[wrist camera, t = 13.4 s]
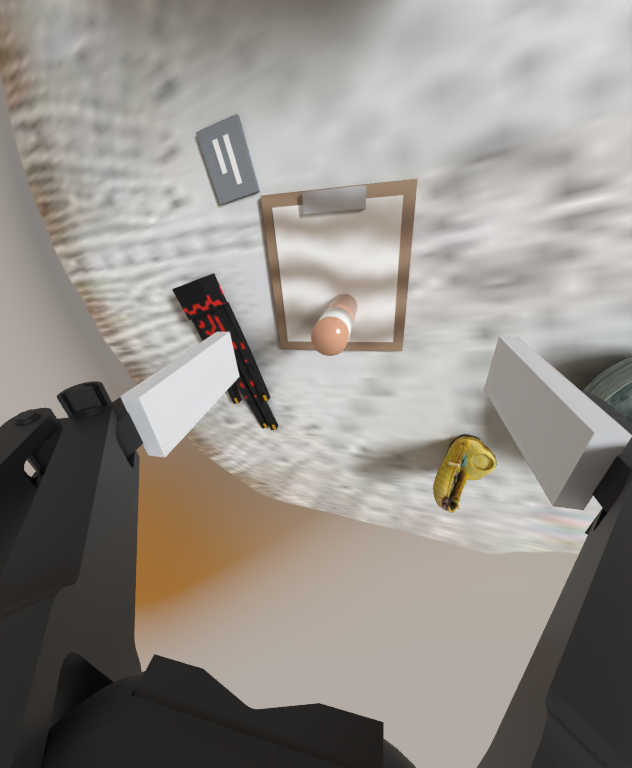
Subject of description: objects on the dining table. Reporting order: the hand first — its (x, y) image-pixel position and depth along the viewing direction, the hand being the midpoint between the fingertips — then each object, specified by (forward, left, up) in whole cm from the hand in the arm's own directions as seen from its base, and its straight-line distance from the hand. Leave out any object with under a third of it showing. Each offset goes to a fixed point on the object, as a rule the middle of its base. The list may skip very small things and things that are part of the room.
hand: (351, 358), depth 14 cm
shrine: (+30, +16, -30) cm, 46 cm away
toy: (+14, -24, -31) cm, 41 cm away
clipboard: (0, -5, -30) cm, 31 cm away
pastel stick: (+4, -4, -29) cm, 30 cm away
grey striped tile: (-15, -19, -30) cm, 38 cm away
